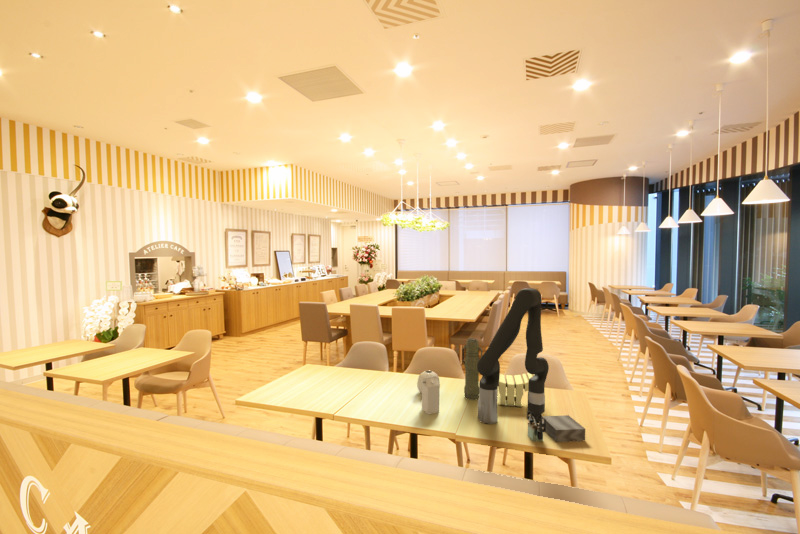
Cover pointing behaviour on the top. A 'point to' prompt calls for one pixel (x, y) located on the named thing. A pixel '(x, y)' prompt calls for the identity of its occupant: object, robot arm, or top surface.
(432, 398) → the milk carton
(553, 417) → the charcoal box
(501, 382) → the slatted curved stool
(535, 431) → the tea tin
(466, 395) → the dark green pillar
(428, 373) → the vase
